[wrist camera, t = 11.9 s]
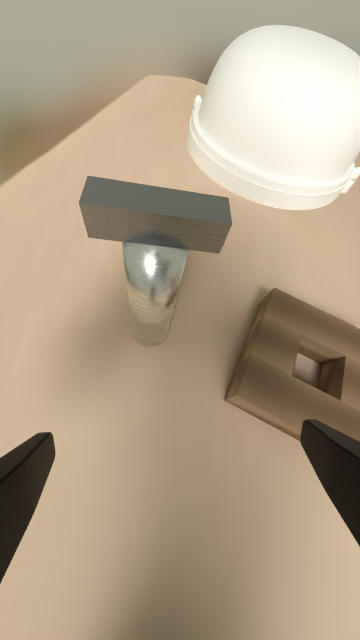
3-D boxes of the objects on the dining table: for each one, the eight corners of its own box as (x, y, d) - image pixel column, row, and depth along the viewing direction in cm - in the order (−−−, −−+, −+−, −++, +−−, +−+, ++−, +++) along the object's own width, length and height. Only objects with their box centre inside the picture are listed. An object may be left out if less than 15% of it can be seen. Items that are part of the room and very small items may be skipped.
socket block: (350, 468, 19) (384, 474, 16) (224, 400, 20) (236, 395, 17) (359, 351, 24) (385, 341, 22) (260, 302, 25) (274, 287, 23)
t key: (181, 348, 21) (234, 239, 9) (114, 344, 21) (73, 218, 8) (181, 315, 23) (226, 185, 11) (119, 310, 22) (91, 163, 10)
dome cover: (148, 153, 36) (151, 6, 23) (220, 99, 49) (246, -12, 37) (332, 242, 33) (448, 128, 20) (354, 159, 46) (432, 59, 34)
